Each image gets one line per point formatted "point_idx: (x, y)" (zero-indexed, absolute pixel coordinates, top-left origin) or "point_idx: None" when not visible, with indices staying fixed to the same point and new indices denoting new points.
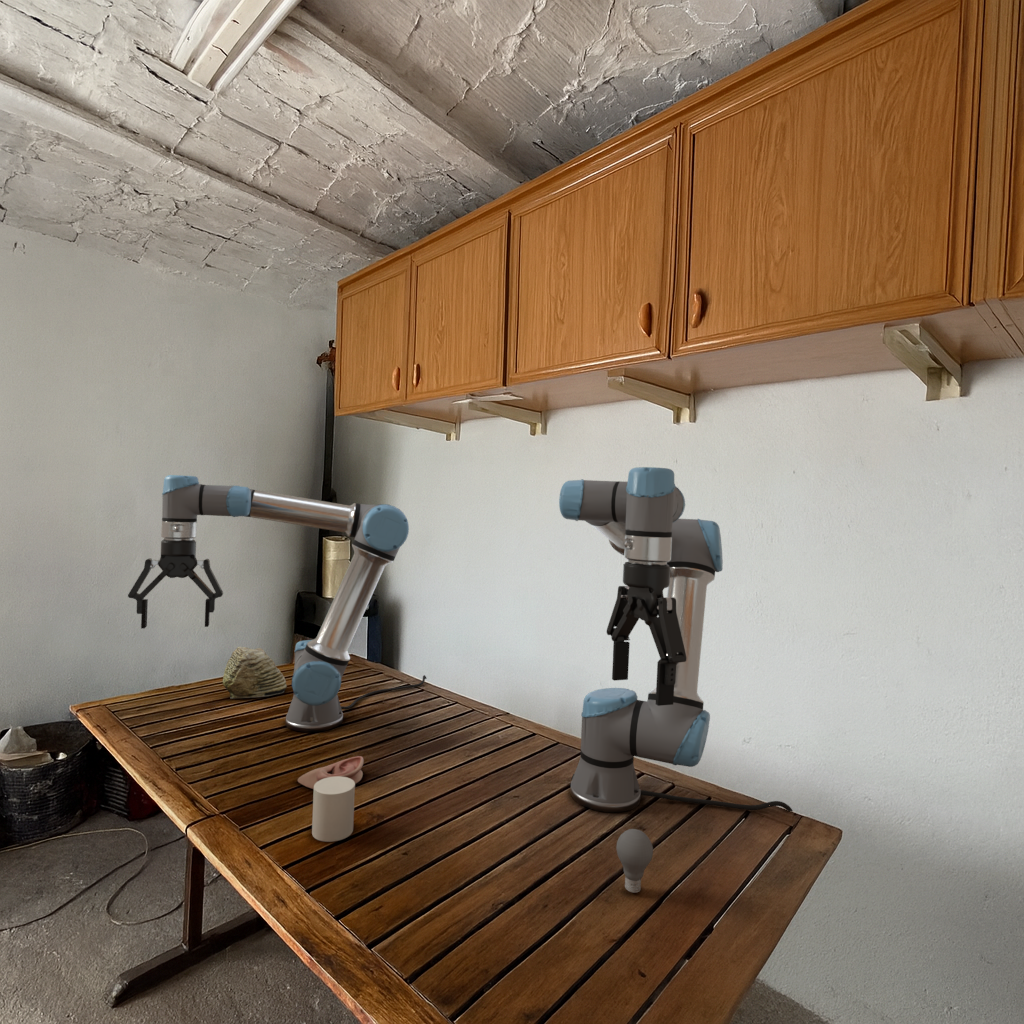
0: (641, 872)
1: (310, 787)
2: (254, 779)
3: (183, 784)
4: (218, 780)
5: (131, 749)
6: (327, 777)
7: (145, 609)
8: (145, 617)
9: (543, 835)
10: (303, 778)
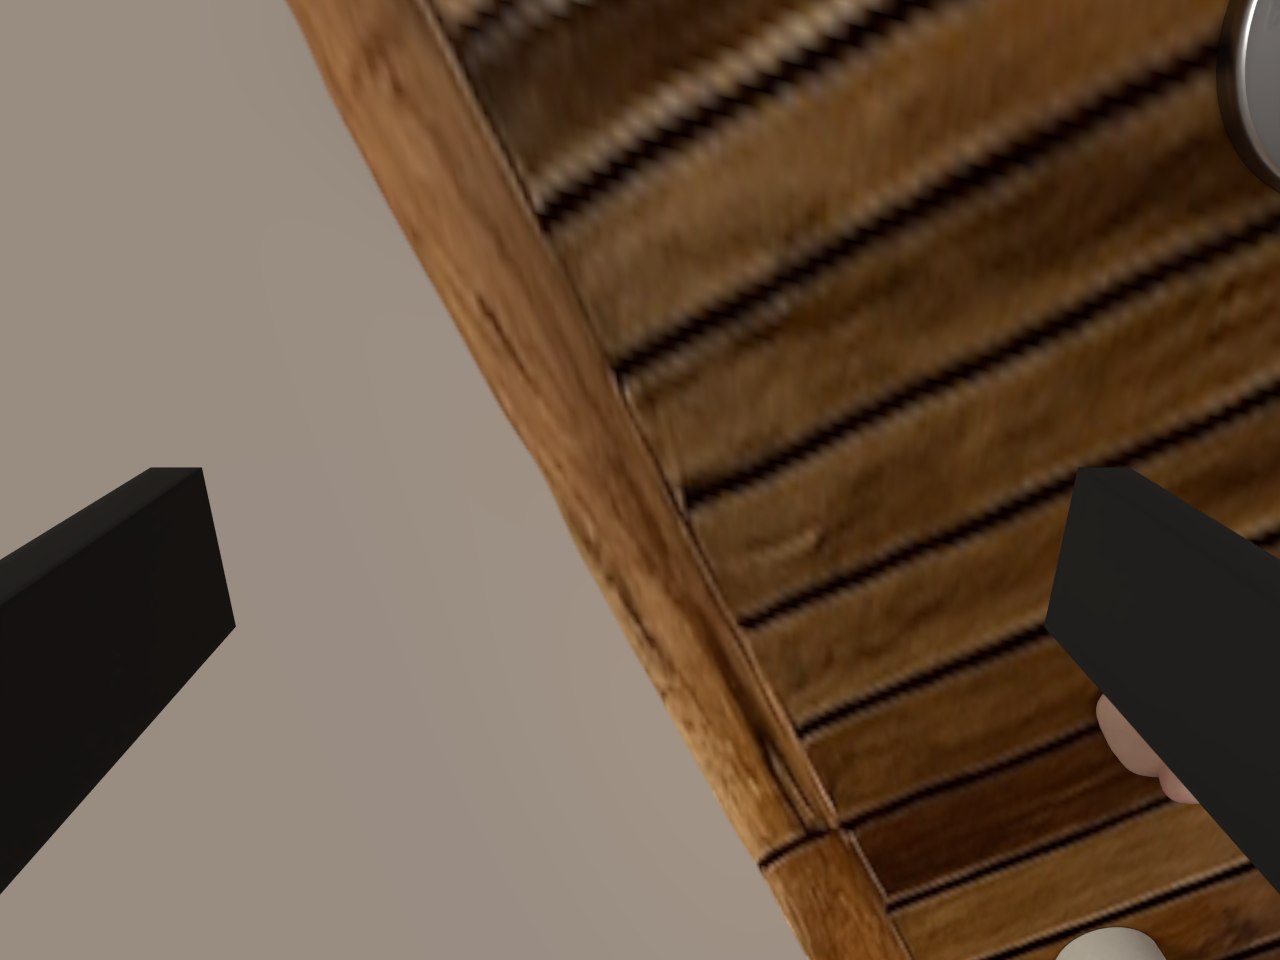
0: None
1: (1122, 763)
2: (958, 647)
3: (724, 629)
4: (839, 627)
5: (456, 222)
6: (1194, 803)
7: (31, 828)
8: (135, 692)
9: None
10: (1119, 726)
